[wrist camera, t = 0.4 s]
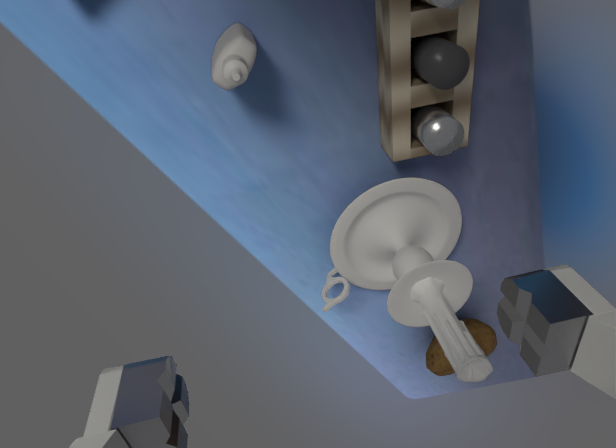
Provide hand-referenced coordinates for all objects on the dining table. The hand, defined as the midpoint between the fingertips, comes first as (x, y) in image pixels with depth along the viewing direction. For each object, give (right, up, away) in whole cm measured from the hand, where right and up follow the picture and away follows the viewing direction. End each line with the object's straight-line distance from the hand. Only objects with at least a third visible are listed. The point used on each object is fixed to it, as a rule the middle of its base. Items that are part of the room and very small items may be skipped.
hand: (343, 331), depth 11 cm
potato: (+26, -18, +75) cm, 81 cm away
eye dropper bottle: (-10, +23, +39) cm, 46 cm away
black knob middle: (+13, +22, +40) cm, 47 cm away
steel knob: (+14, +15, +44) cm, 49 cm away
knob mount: (+12, +24, +43) cm, 51 cm away
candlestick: (+10, +1, +58) cm, 59 cm away
